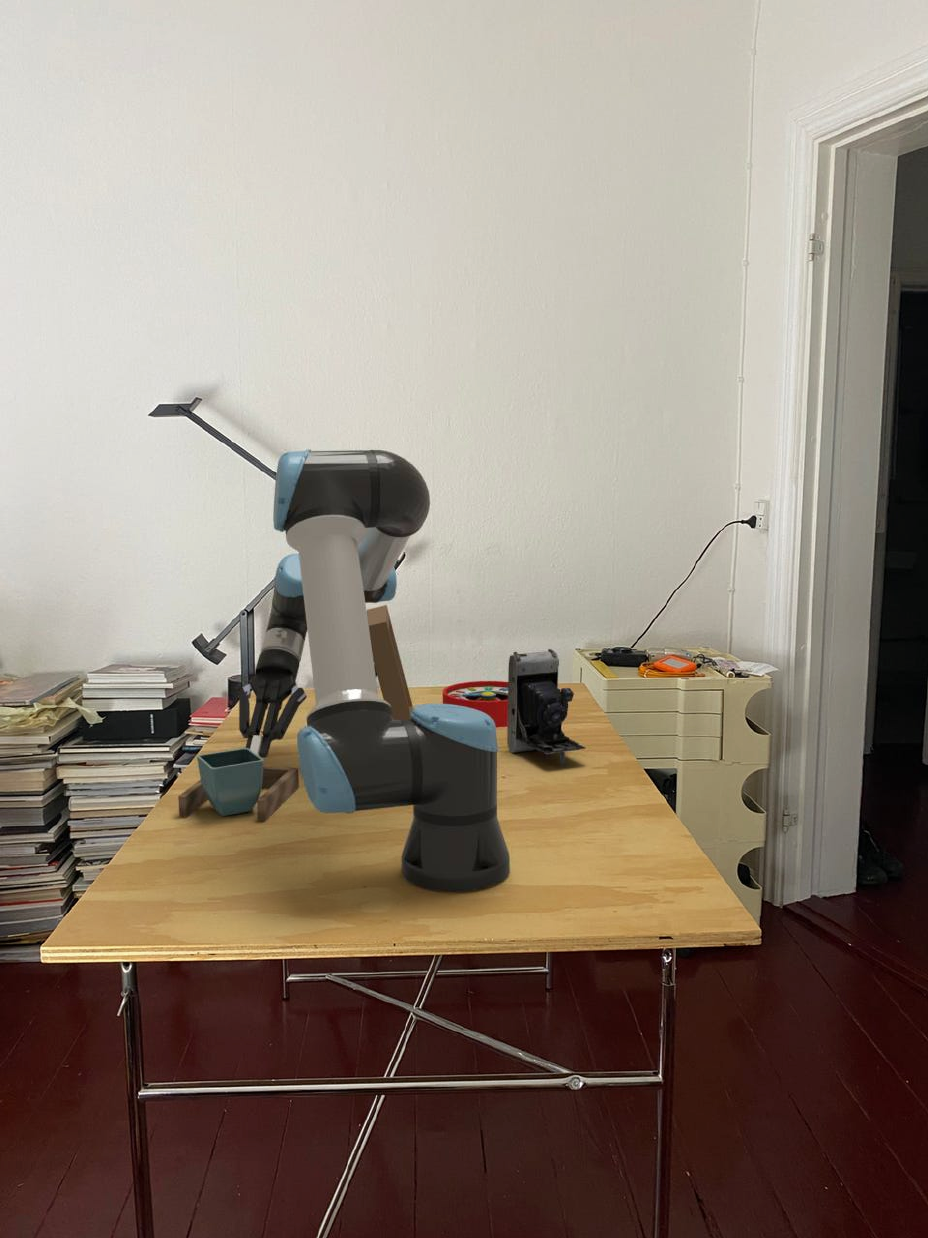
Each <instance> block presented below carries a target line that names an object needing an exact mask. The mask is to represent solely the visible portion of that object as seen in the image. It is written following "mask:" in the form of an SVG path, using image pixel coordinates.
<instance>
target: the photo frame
mask: <svg viewBox="0 0 928 1238" xmlns="http://www.w3.org/2000/svg"><path fill="white" fill-rule="evenodd" d="M366 611H367V618H368V625H369V632H370V640H371V647H372V654H373V661H374V668H375V675H376V678H377V680H378V684H379V687H380V691H381V695H382V699H383V700H385V701H386V702H388V703H389V704H390V705H391V710H392V717H393V720H405V719H411V717H410V714H411V712H412V709H413V708H414V705H413V702H412V698H411V694H410V691H409V687H408V683H407V678H406V675H405V672H404V671H405V670H404V668H403V664H402V659H401V655H400V652H399V648H398V643H397V640H396V636H395V632H394V628H393V625H392V620H391V616H390V613H389V609H388V605H387V604H385V605H381V606H375V607H374V608H373V607H372V608H369V609H366Z"/></svg>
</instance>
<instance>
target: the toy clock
mask: <svg viewBox="0 0 928 1238" xmlns="http://www.w3.org/2000/svg"><path fill="white" fill-rule="evenodd" d="M442 704H451V705H458V706H464V707H468V708H472V709H476V710H479V711H481V712H484V713H486V714H487V715H489V716H490V717H491V718H492V719H493V721H494V723H495V726H496V728H506V727H507V722H508V681H502V680H475V681H474V680H473V681H465V682H459V683H455V684H454V683H453V684H451V685H449V686H446V687H445V688H443V689H442Z"/></svg>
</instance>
